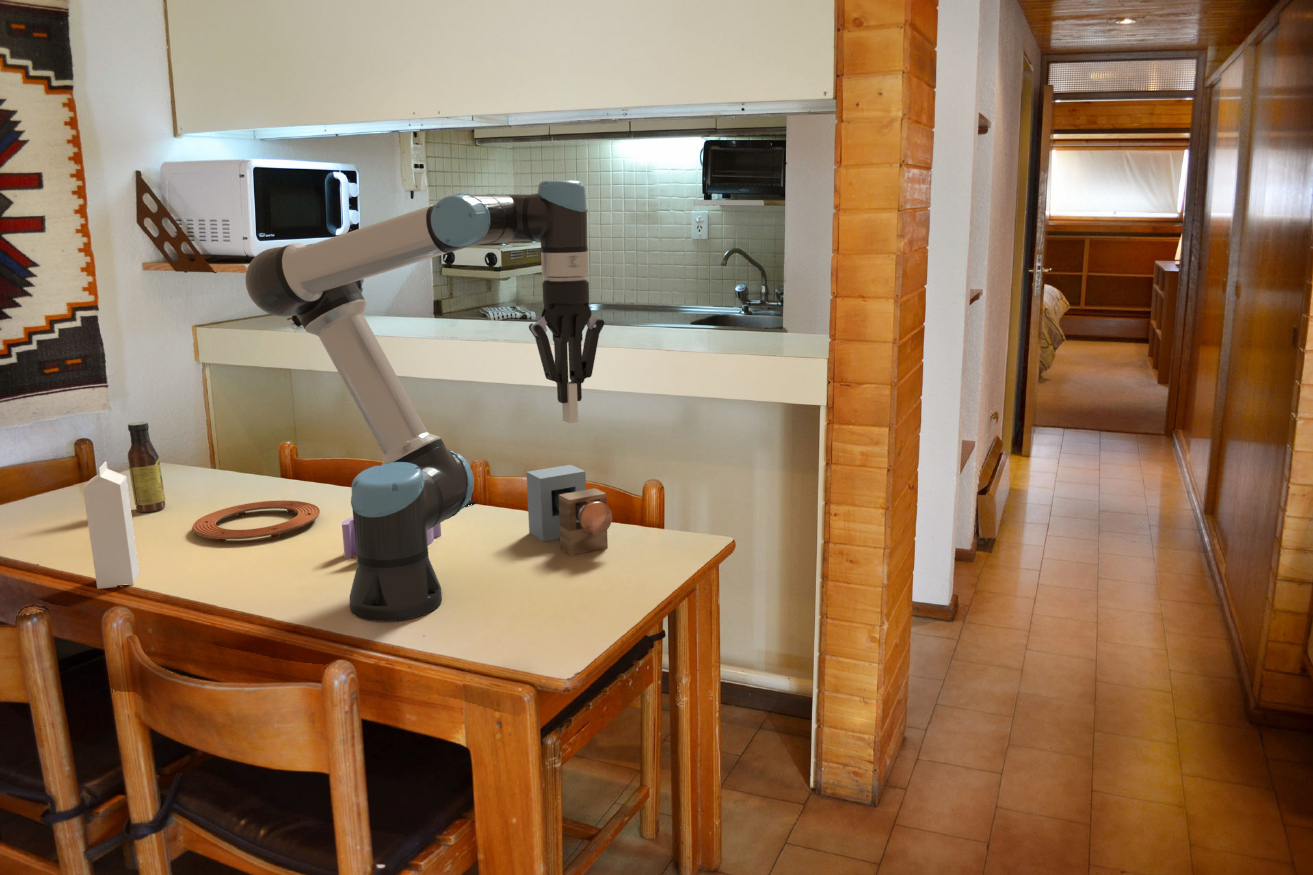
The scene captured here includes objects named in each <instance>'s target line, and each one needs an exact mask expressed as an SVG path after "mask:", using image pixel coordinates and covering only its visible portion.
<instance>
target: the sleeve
mask: <svg viewBox="0 0 1313 875" xmlns="http://www.w3.org/2000/svg"><path fill="white" fill-rule="evenodd" d="M584 501H586V502H589V503H590V502H593V501H600V502H602V503H604V504H606V505H607V493H606V492H604V491H602V490H599V489H597V488H590V489H586V490H583V491H577V492H571V493H565V494H560V495H559V519H560V538H559V540H560V541H559V543H560V545H559V546H560V549H561V550H562V551H564V552H565V553H567V554H568V555H570V556H574V555H577V554H578V555H579V554H584V553H589V552H594V551H598V550H602V549H608V546H609V543H608V541H609V540H608V529H607V530H606V531H605V532H604V533H602V534H600V535H590V534H588V533H586V532H585V531H584V530H583V529H582V528H581V526H580V522H576V508H575V503H579V502H584Z"/></svg>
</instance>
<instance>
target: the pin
mask: <svg viewBox="0 0 1313 875" xmlns="http://www.w3.org/2000/svg"><path fill="white" fill-rule="evenodd" d="M565 493H568V492H566V491H564V490H562V489H558V490H552V491H551V496H552V507H554V508H556V509H558V510H559V495H560V494H565ZM575 508H576V520H578V521H579V522H580V526H581V528H582V529H583V530H584V531H585V532H586V533H588V534H590V535H600V534H602V533H604V532H605V531H606V530H607V531H608V529H609V528H610V527H611V524H612V521H613V512H612V510H611V508H610V506H609V505H607V503H606V504H604V503H602V502H600V501H593V502H590V501H584V502H579V503H575Z"/></svg>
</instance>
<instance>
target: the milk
mask: <svg viewBox="0 0 1313 875" xmlns="http://www.w3.org/2000/svg"><path fill="white" fill-rule="evenodd" d="M82 491H83V492H82V493H83V499H84V506H85V513H86V521H87V526H88V531H89V532H88V533H89V539H90V540H89V542H90V546H91V553H92V560H93V566H94V574H95V581H96V588H97V590H99V589H109V588H117V585H122V584H134V585H135V583H136V581H137V580H136V578H137V577H139V576H140V568H139V567H140V566H139V559H138V552H137V545H136V538H135V530H134V523H133V516H132V515H133V514H132V510H131V499H130V493H129V486H128V478H127V476H126V475H125V474H121V473H119V472H117V471H114V470H111V469H109V468H108V463H107V461H106V460H105V461H104V462H103V463H102V464H101V465H100V467H98V474H97V475H95V476H94V477H92V478H90V479H89V480H88V482H87V483H85V485H84V486H83V487H82ZM138 575H139V576H138ZM137 579H138V578H137ZM135 580H136V581H135ZM134 582H135V583H134Z"/></svg>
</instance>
